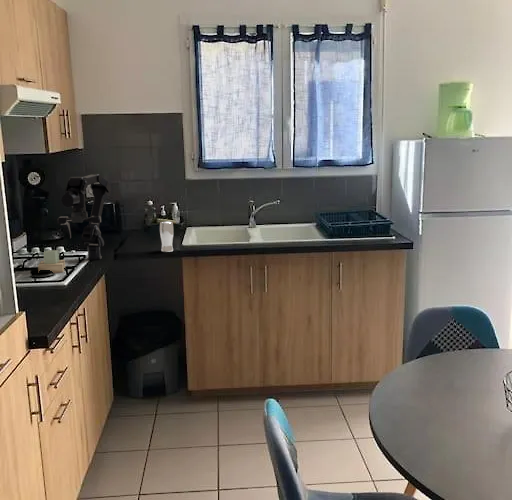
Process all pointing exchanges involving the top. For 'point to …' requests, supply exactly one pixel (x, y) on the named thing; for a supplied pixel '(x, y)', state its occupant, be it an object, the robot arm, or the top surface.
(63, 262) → the oak block
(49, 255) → the sage cube
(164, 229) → the beer glass
